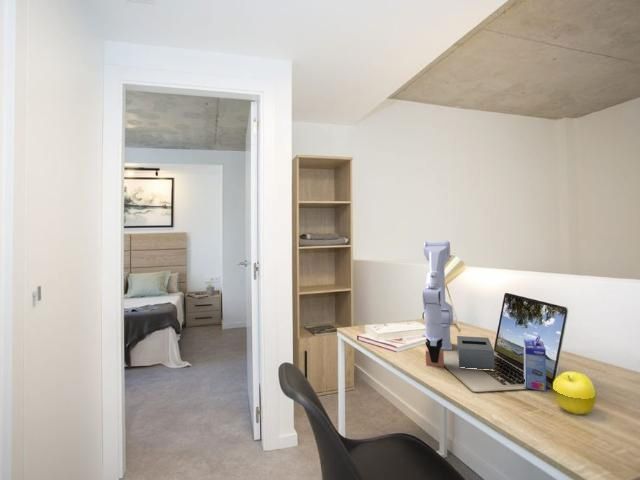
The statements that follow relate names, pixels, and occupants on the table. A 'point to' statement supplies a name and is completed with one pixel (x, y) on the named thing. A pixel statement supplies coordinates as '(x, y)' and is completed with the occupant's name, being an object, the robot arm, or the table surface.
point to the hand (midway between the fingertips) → (434, 360)
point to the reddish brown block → (440, 360)
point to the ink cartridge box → (535, 364)
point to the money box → (475, 352)
